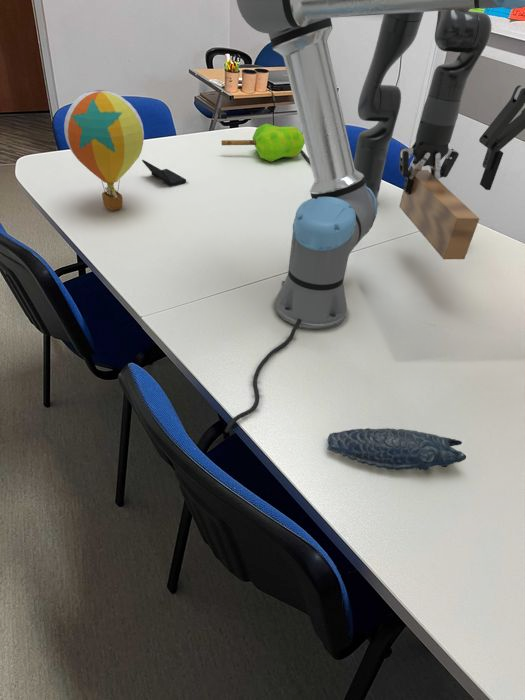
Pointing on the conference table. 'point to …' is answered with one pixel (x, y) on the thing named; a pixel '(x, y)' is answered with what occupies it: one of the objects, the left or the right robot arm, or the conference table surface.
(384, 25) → the right robot arm
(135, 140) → the toy
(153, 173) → the black angled flat piece
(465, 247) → the bar
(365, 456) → the fish model
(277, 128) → the decorative tree
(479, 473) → the conference table surface
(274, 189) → the conference table surface
